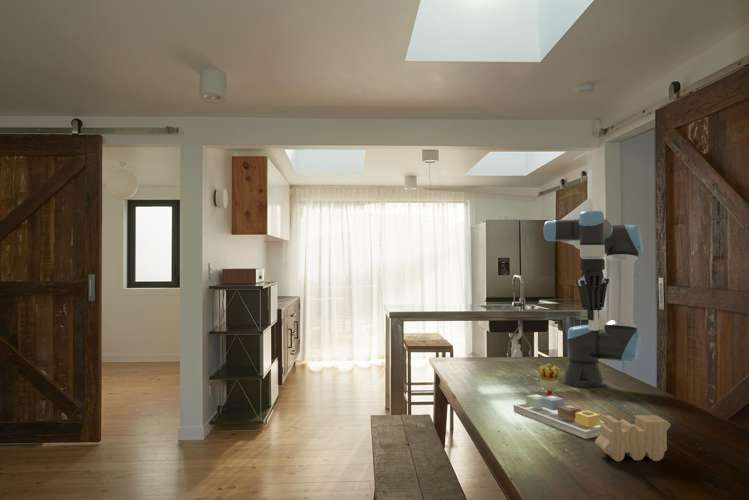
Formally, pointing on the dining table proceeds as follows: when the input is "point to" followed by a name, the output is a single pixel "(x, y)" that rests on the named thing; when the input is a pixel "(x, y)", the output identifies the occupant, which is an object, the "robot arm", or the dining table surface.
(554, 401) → the blue square block
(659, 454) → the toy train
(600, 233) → the robot arm
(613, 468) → the dining table surface
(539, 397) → the key
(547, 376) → the toy
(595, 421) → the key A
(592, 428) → the base
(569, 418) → the key
